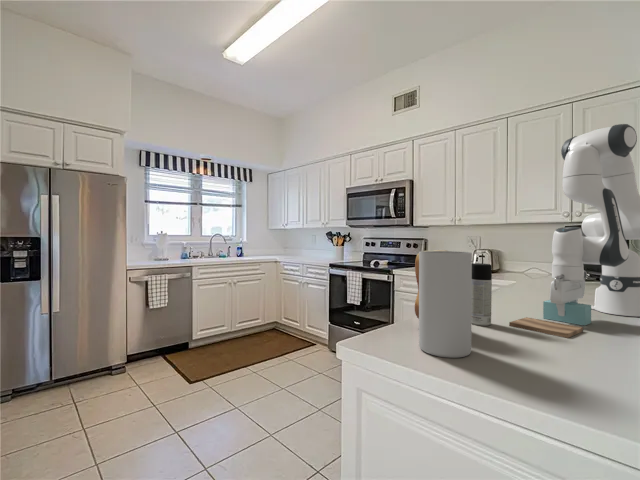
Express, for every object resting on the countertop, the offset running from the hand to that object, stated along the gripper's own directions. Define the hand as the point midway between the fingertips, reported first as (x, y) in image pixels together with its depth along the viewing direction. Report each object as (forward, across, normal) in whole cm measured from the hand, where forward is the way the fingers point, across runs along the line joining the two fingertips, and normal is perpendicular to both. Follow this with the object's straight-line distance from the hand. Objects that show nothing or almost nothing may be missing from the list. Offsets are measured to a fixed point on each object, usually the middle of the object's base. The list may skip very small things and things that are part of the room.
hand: (567, 313), depth 115 cm
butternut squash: (+2, -46, +19) cm, 50 cm away
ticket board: (+2, -18, 0) cm, 18 cm away
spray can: (+2, -28, +15) cm, 32 cm away
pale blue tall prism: (+2, 0, 0) cm, 2 cm away
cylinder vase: (+2, -62, +6) cm, 62 cm away
